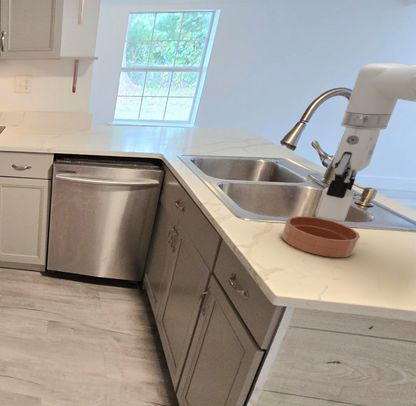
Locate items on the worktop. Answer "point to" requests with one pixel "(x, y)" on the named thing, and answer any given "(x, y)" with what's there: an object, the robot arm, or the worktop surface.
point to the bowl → (320, 236)
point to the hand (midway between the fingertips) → (338, 193)
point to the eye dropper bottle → (334, 206)
